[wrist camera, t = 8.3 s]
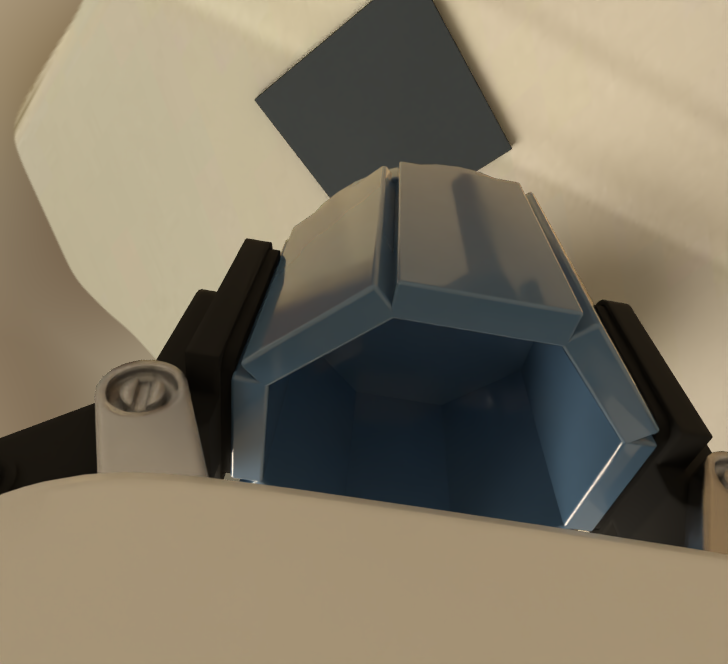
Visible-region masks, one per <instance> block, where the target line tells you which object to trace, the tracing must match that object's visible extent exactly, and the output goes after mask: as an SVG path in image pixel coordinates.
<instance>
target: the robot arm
mask: <svg viewBox="0 0 728 664" xmlns="http://www.w3.org/2000/svg"><path fill="white" fill-rule="evenodd" d="M280 256H281V253H280V251H279V250H273V249H272V243H271V242H265V241H259V240H254V239H248V238H246V240H245V241H244V243H243V245H242V247H241V248H240V250H239V252H238V254H237V256H236V258H235V260H234V261H233V263H232V265H231V267H230V269H229V271H228V273H227V274H226V276H225V278H224V280H223V282H222V284H221V286H220V287H219V289H218V291H217V292H215V291H209V290H203V289H201V290H199V291H198V292H197V293H196V294H195V296H194V298H193V299H192V301H191V303H190V305H189V306H188V308H187V310H186V311H185V313H184V315H183V316H182V318H181V320H180V321H179V323H178V325H177V326H176V328H175V330H174V331H173V333H172V335H171V336H170V338H169V340H168V341H167V343H166V345H165V346H164V348H163V350H162V351H161V353H160V355H159V356H158V358H157V360H138V361H133V362H129V363H125V364H123V365H121V366H118V367H116V368H114V369H112V370H111V371H110V372H108V373H107V374H106V375H105V376H103V377H102V379H101V380H100V381H99V383H98V384H97V386H96V391H95V403H94V404H91V405H88V406H86V407H83V408H80V409H78V410H75V411H72V412H69V413H67V414H64V415H61V416H59V417H56V418H53V419H50V420H48V421H45V422H42V423H40V424H37V425H34V426H32V427H29V428H26V429H23V430H21V431H18V432H15V433H13V434H10V435H8V436H5V437H2V438H0V664H728V452H725V451H719V452H713V453H712V452H711V450H710V449H709V447H708V446H707V443H708V442H709V441H710V440H711V439H712V435H711V433H710V432H709V430H708V429H707V427H706V425H705V424H704V422H703V421H702V419H701V418H700V416H699V414H698V413H697V411H696V410H695V408H694V406H693V405H692V403H691V402H690V400H689V399H688V397H687V395H686V394H685V392H684V391H683V389H682V387H681V386H680V384H679V383H678V381H677V379H676V378H675V376H674V375H673V373H672V372H671V370H670V368H669V367H668V365H667V364H666V362H665V360H664V359H663V357H662V356H661V354H660V352H659V351H658V349H657V348H656V346H655V345H654V343H653V341H652V340H651V338H650V337H649V335H648V333H647V332H646V330H645V329H644V327H643V325H642V324H641V322H640V321H639V319H638V318H637V316H636V314H635V313H634V311H633V310H632V308H631V307H630V306H629V305H628V304H624V303H618V302H613V301H607V300H601V301H599V302H598V303H597V304H596V305H594V306H595V308H596V310H597V311H598V313H599V315H600V317H601V319H602V321H603V323H604V325H605V326H606V328H607V330H608V332H609V334H610V336H611V338H612V340H613V341H614V343H615V345H616V347H617V349H618V351H619V353H620V355H621V356H622V358H623V360H624V362H625V364H626V366H627V368H628V370H629V371H630V373H631V375H632V377H633V379H634V381H635V383H636V385H637V387H638V388H639V390H640V392H641V394H642V396H643V398H644V400H645V402H646V403H647V405H648V407H649V409H650V411H651V413H652V415H653V417H654V418H655V420H656V422H657V424H658V426H659V432H658V433H657V434H654V435H652V436H653V438H654V439H655V441H656V443H657V447H656V449H655V450H654V452H653V453H652V454H651V456H650V457H649V458H648V460H647V461H646V462H645V464H644V465H643V466H642V467H641V469H640V470H639V471H638V473H637V474H636V475H635V477H634V478H633V479H632V481H631V482H630V483H629V484H628V486H627V487H626V488H625V490H624V491H623V492H622V494H621V495H620V496H619V498H618V499H617V500H616V501H615V503H614V504H613V505H612V507H611V508H610V509H609V511H608V512H607V513H606V515H605V516H604V517H603V518H602V520H601V521H600V522H599V524H598V525H597V526H596V528H595V529H594V530H593V531H590V533H589V532H583V531H576V530H570V529H563V528H556V527H550V526H543V525H537V524H530V523H523V522H517V521H510V520H504V519H497V518H490V517H484V516H477V515H470V514H464V513H457V512H450V511H444V510H437V509H430V508H424V507H417V506H410V505H403V504H396V503H389V502H382V501H375V500H369V499H362V498H355V497H348V496H341V495H334V494H327V493H320V492H313V491H306V490H300V489H293V488H285V487H278V486H270V485H262V484H254V483H247V482H239V481H231V480H224V476H225V473H230V467H231V377H232V374H233V373H234V372H235V369H236V367H237V364H238V362H239V359H240V357H241V354H242V352H243V349H244V347H245V344H246V342H247V339H248V336H249V334H250V331H251V329H252V326H253V324H254V321H255V319H256V316H257V314H258V311H259V309H260V306H261V304H262V301H263V299H264V296H265V294H266V291H267V289H268V286H269V284H270V281H271V279H272V276H273V273H274V271H275V268H276V266H277V263H278V261H279V258H280Z"/></svg>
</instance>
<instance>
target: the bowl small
mask: <svg viewBox="0 0 728 664" xmlns="http://www.w3.org/2000/svg"><path fill="white" fill-rule="evenodd" d="M658 432H659V426H658V424H657V422H656V420H655V418H654V417H653V415H652V413H651V411H650V409H649V407H648V405H647V403H646V402H645V400H644V398H643V396H642V394H641V392H640V390H639V388H638V387H637V385H636V383H635V381H634V379H633V377H632V375H631V373H630V371H629V370H628V368H627V366H626V364H625V362H624V360H623V358H622V356H621V355H620V353H619V351H618V349H617V347H616V345H615V343H614V341H613V340H612V338H611V336H610V334H609V332H608V330H607V328H606V326H605V325H604V323H603V321H602V319H601V317H600V315H599V313H598V311H597V310H596V308H595V306H594V304H593V302H592V300H591V298H590V296H589V294H588V293H587V291H586V289H585V287H584V285H583V283H582V281H581V279H580V278H579V276H578V274H577V272H576V270H575V268H574V267H573V265H572V263H571V261H570V259H569V258H568V256H567V254H566V252H565V250H564V248H563V247H562V245H561V243H560V241H559V239H558V237H557V236H556V234H555V232H554V230H553V228H552V227H551V225H550V223H549V221H548V219H547V217H546V216H545V214H544V212H543V210H542V208H541V206H540V205H539V203H538V201H537V199H536V197H535V196H534V194H533V193H532V192H530V193H527V194H526V195H525V193H524V191H523V189H522V187H521V185H520V183H518V182H512V181H507V180H501V179H496V178H493V177H491V176H488V175H486V174H483V173H481V172H477V171H473V170H470V169H466V168H462V167H456V166H447V165H438V164H433V165H419V164H413V163H408V162H400V163H399V166H398V167H397V168H393V169H388V168H387V167H386V166H382V167H380V168H379V169H378V170H376V171H375V172H373V173H372V174H370V175H369V176H367V177H365V178H363V179H360V180H358V181H356V182H354V183H352V184H351V185H349V186H347V187H346V188H344V189H342V190H340V191H339V192H337V193H336V194H335V195H333V196H332V197H331V198H330V199H328V200H327V201H326V202H325V203H323V204H322V205H321V206H320V207H319V208H318V210H317V211H316V212H315V213H314V214H312V215H311V216H309V217H308V218H306V219H305V220H303V221H302V222H300V223H299V224H298V225H296V226H295V227H294V228H293V230H292V232H291V235H290V237H289V239H287V240H286V242H285V244H284V246H283V249H282V251H281V256H280V258H279V261H278V263H277V266H276V268H275V271H274V273H273V276H272V279H271V281H270V284H269V286H268V289H267V291H266V294H265V296H264V299H263V301H262V304H261V306H260V309H259V311H258V314H257V316H256V319H255V321H254V324H253V326H252V329H251V331H250V334H249V336H248V339H247V342H246V344H245V347H244V349H243V352H242V354H241V357H240V359H239V362H238V364H237V367H236V369H235V372H234V373H233V374H232V377H231V467H230V473H231V477H233V478H237V479H240V481H239V482H247V483H254V484H262V485H270V486H278V487H285V488H293V489H300V490H306V491H313V492H320V493H327V494H334V495H341V496H348V497H355V498H362V499H369V500H375V501H382V502H389V503H396V504H403V505H410V506H417V507H424V508H430V509H437V510H444V511H450V512H457V513H464V514H470V515H477V516H484V517H490V518H497V519H504V520H510V521H517V522H523V523H530V524H537V525H543V526H550V527H556V528H563V529H570V530H576V531H578V530H583V531H589V532H590V531H593V530H594V529H595V528H596V526H597V525H598V524H599V522H600V521H601V520H602V518H603V517H604V516H605V515H606V513H607V512H608V511H609V509H610V508H611V507H612V505H613V504H614V503H615V501H616V500H617V499H618V498H619V496H620V495H621V494H622V492H623V491H624V490H625V488H626V487H627V486H628V484H629V483H630V482H631V481H632V479H633V478H634V477H635V475H636V474H637V473H638V471H639V470H640V469H641V467H642V466H643V465H644V464H645V462H646V461H647V460H648V458H649V457H650V456H651V454H652V453H653V452H654V450H655V449H656V447H657V443H656V441H655V439H654V438H653V436H652V435H654V434H657V433H658Z"/></svg>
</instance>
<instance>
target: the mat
mask: <svg viewBox="0 0 728 664" xmlns="http://www.w3.org/2000/svg"><path fill="white" fill-rule="evenodd" d="M255 101H256V103H257V104H258V105H259V106H260V108H261V109H262V110H263V112H264V113H265V114H266V116H267V117H268V118H269V119H270V121H271V122H272V123H273V125H274V126H275V127H276V129H277V130H278V131H279V132H280V134H281V135H282V136H283V138H284V139H285V140H286V141H287V143H288V144H289V145H290V147H291V148H292V149H293V151H294V152H295V153H296V154H297V156H298V157H299V158H300V160H301V161H302V162H303V163H304V165H305V166H306V167H307V169H308V170H309V171H310V173H311V174H312V175H313V176H314V178H315V179H316V180H317V182H318V183H319V184H320V186H321V187H322V188H323V189H324V191H325V192H326V193H327V195H328V196H329V197H330V198H331V197H332V196H333V195H335V194H336V193H337V192H339V191H340V190H342V189H344V188H346V187H347V186H349V185H351V184H352V183H354V182H356V181H358V180H360V179H363V178H365V177H367V176H369V175H370V174H372V173H373V172H375V171H376V170H378V169H379V168H380V167H382V166H386V167H387V168H388V169H393V168H397V167H398V166H399V163H400V162H408V163H413V164H419V165H433V164H438V165H447V166H456V167H462V168H466V169H470V170H473V171H477V170H479V169H481V168H482V167H484V166H485V165H487V164H489V163H490V162H492V161H493V160H495V159H497V158H498V157H500V156H501V155H503V154H505V153H506V152H508V151H509V150H511V149H512V147H511V146H510V144H509V142H508V140H507V138H506V136H505V134H504V133H503V131H502V129H501V127H500V125H499V123H498V121H497V120H496V118H495V116H494V114H493V112H492V110H491V108H490V107H489V105H488V103H487V101H486V99H485V97H484V95H483V94H482V92H481V90H480V88H479V86H478V84H477V82H476V81H475V79H474V77H473V75H472V73H471V71H470V69H469V68H468V66H467V64H466V62H465V60H464V58H463V56H462V55H461V53H460V51H459V49H458V47H457V45H456V43H455V42H454V40H453V38H452V36H451V34H450V32H449V30H448V29H447V27H446V25H445V23H444V21H443V19H442V17H441V16H440V14H439V12H438V10H437V8H436V6H435V4H434V3H433V1H432V0H372V1H371V2H370V3H369V4H368V5H366V6H365V7H364V8H363V9H362V10H360V11H359V12H358V13H357V14H356V15H354V16H353V17H352V18H351V19H350V20H349V21H347V22H346V23H345V24H344V25H343V26H341V27H340V28H339V29H338V30H337V31H335V32H334V33H333V34H332V35H331V36H329V37H328V38H327V39H326V40H325V41H323V42H322V43H321V44H320V45H319V46H318V47H316V48H315V49H314V50H313V51H312V52H310V53H309V54H308V55H307V56H306V57H304V58H303V59H302V60H301V61H300V62H298V63H297V64H296V65H295V66H294V67H292V68H291V69H290V70H289V71H288V72H287V73H285V74H284V75H283V76H282V77H281V78H279V79H278V80H277V81H276V82H275V83H273V84H272V85H271V86H270V87H269V88H267V89H266V90H265V91H264V92H263V93H261V94H260V95H259V96H258V97H257V98H256V99H255Z"/></svg>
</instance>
